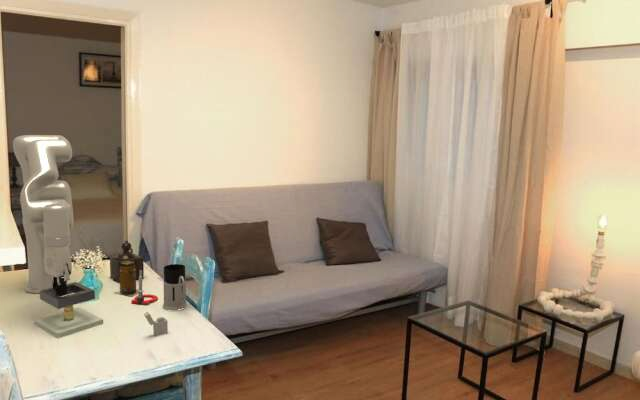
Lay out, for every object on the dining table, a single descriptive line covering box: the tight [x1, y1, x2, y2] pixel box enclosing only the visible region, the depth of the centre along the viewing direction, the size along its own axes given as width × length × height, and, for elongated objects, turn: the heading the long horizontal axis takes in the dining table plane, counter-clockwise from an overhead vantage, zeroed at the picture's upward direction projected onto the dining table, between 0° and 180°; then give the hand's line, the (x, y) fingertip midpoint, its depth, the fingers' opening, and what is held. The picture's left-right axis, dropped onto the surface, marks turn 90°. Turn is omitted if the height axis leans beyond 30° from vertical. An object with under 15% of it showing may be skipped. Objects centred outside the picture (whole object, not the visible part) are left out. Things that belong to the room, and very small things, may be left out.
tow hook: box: [130, 270, 159, 306], centre depth 190 cm, size 8×13×9 cm
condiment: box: [114, 261, 139, 297], centre depth 198 cm, size 7×8×12 cm
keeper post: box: [62, 305, 74, 321], centre depth 168 cm, size 3×3×6 cm
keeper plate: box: [33, 306, 104, 339], centre depth 168 cm, size 16×15×2 cm
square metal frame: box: [39, 281, 96, 310], centre depth 167 cm, size 12×12×3 cm
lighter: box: [143, 311, 169, 336], centre depth 162 cm, size 7×2×8 cm, turn 128°
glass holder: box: [162, 263, 188, 311], centre depth 183 cm, size 9×14×15 cm, turn 34°
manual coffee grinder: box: [109, 240, 145, 284], centre depth 212 cm, size 16×11×18 cm
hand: (60, 294), depth 170 cm, fingers closed on square metal frame
